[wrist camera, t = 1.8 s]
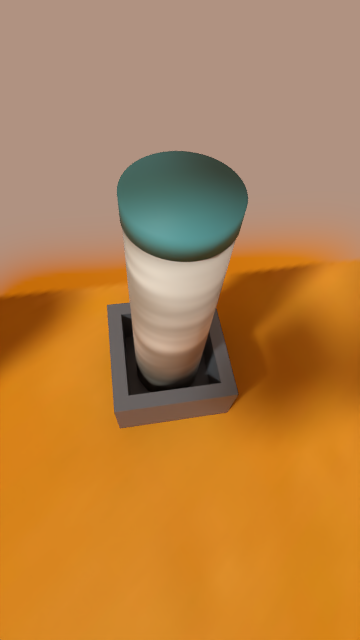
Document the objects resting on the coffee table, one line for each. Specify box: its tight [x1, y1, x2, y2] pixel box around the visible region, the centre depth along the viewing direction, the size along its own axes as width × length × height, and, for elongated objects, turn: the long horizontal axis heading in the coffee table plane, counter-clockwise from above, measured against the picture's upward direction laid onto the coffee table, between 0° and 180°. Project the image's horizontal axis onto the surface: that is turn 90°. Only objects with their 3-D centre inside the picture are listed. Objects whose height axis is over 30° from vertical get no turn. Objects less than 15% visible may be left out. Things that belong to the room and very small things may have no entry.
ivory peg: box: [117, 151, 248, 392], centre depth 17 cm, size 4×4×14 cm
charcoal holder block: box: [107, 303, 239, 428], centre depth 22 cm, size 7×7×4 cm
